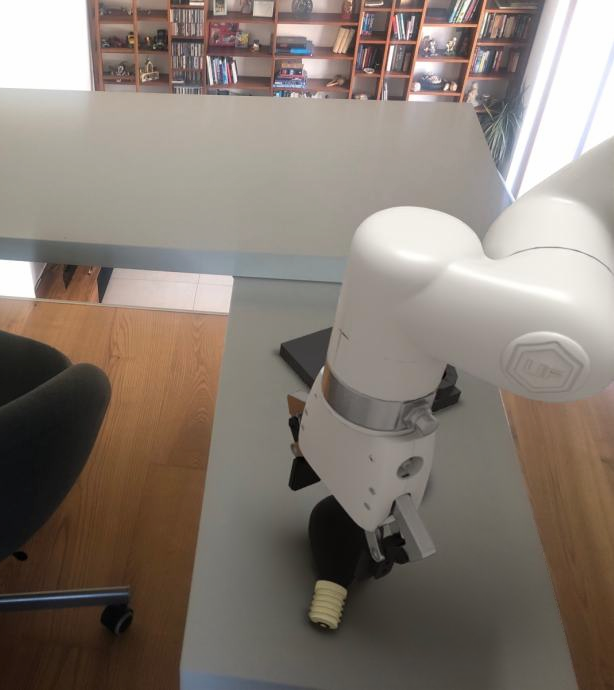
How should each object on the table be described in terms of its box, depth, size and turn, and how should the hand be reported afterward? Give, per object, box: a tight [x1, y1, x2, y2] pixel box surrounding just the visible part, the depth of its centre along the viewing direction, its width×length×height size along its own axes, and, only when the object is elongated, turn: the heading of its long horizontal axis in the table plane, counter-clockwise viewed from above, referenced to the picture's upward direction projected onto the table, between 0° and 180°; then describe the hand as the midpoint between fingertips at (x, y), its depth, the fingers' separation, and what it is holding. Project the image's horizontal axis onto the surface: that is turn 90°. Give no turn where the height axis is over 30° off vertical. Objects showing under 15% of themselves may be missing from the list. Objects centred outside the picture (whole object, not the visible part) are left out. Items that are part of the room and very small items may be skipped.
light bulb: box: [307, 494, 385, 630], centre depth 62 cm, size 7×7×12 cm
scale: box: [279, 326, 462, 413], centre depth 82 cm, size 16×14×4 cm
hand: (336, 525), depth 59 cm, fingers open, 9 cm apart
